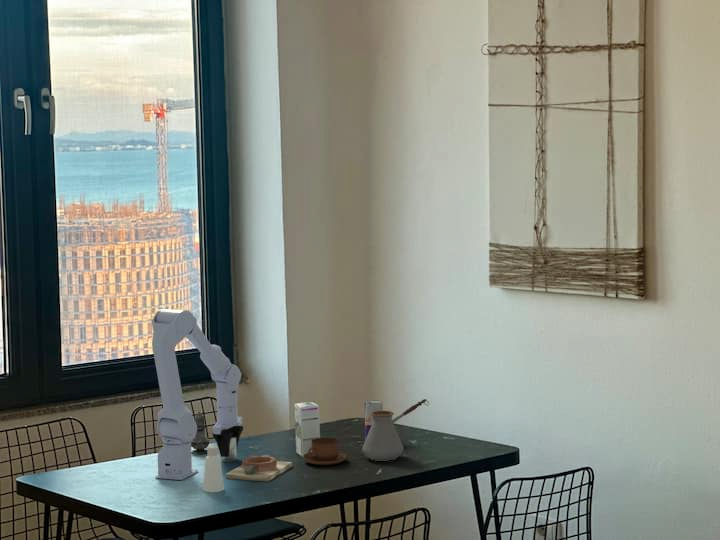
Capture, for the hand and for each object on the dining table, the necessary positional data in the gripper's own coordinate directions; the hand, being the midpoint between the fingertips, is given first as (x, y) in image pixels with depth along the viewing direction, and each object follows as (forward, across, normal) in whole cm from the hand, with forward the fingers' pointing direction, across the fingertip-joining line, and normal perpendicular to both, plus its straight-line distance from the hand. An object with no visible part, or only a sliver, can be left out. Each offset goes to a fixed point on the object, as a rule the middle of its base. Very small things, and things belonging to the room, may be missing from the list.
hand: (228, 454), depth 316 cm
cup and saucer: (+2, +5, -27) cm, 27 cm away
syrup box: (+2, +12, -19) cm, 23 cm away
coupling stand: (+2, -10, -14) cm, 17 cm away
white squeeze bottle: (+2, -29, -10) cm, 31 cm away
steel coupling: (+2, 0, 0) cm, 2 cm away
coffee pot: (+2, +17, -44) cm, 47 cm away
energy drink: (+2, +32, -32) cm, 45 cm away
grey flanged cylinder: (+2, +6, +12) cm, 14 cm away
